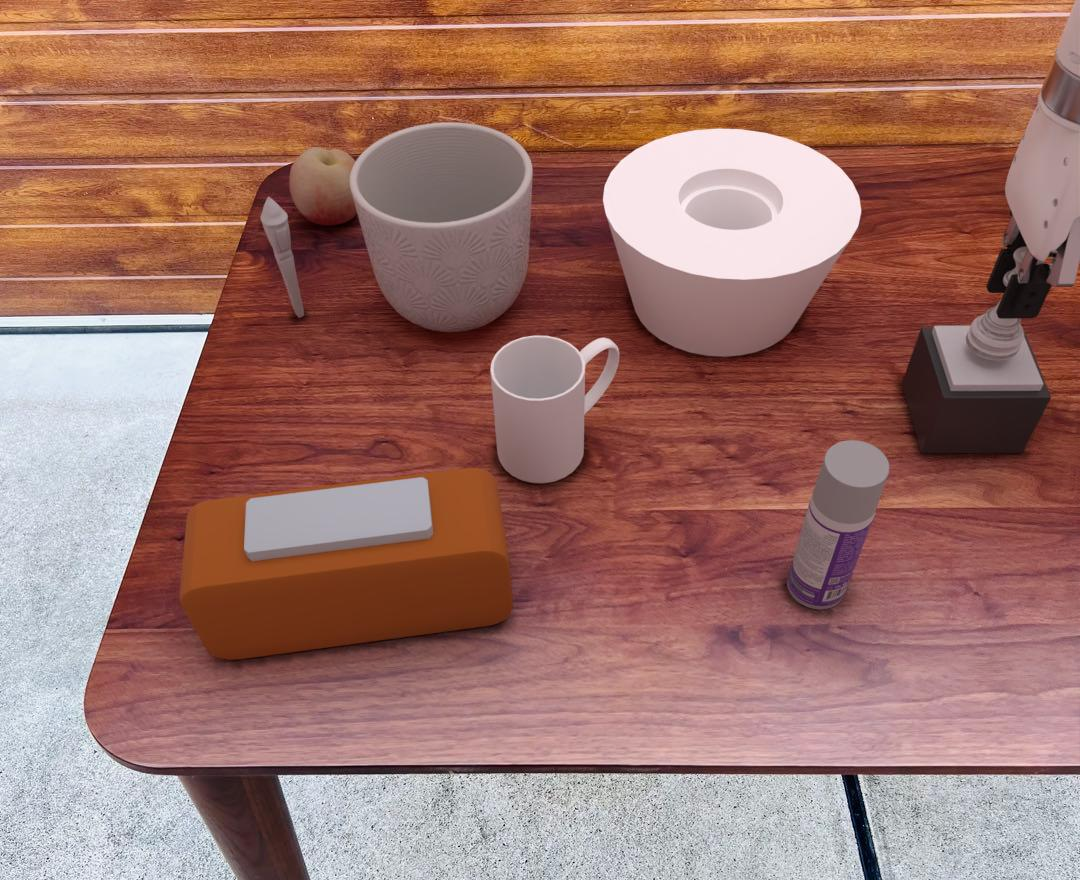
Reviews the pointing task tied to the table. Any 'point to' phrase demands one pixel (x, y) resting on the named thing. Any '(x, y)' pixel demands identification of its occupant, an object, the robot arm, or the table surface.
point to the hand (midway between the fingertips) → (1011, 301)
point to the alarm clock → (346, 563)
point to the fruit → (323, 186)
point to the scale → (971, 395)
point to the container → (837, 523)
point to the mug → (544, 404)
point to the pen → (282, 249)
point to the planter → (446, 222)
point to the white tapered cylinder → (727, 235)
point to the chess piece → (998, 326)
